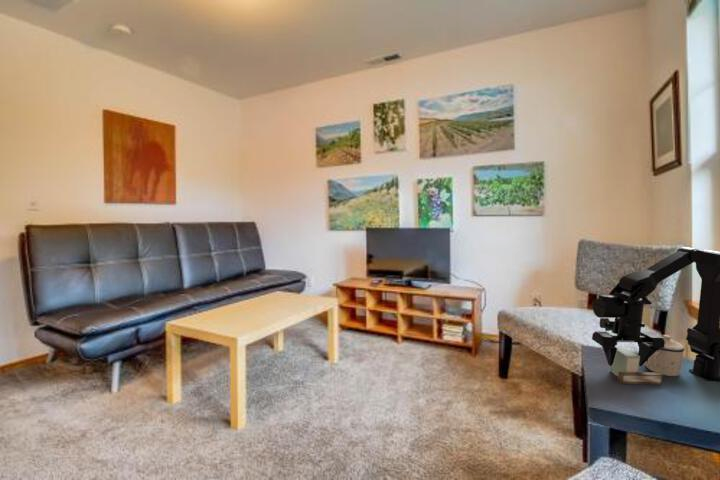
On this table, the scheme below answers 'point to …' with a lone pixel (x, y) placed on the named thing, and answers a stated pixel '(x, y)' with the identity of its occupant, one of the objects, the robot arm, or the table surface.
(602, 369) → the table surface
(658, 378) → the wooden block
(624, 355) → the sage tin
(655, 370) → the teacup with lid
